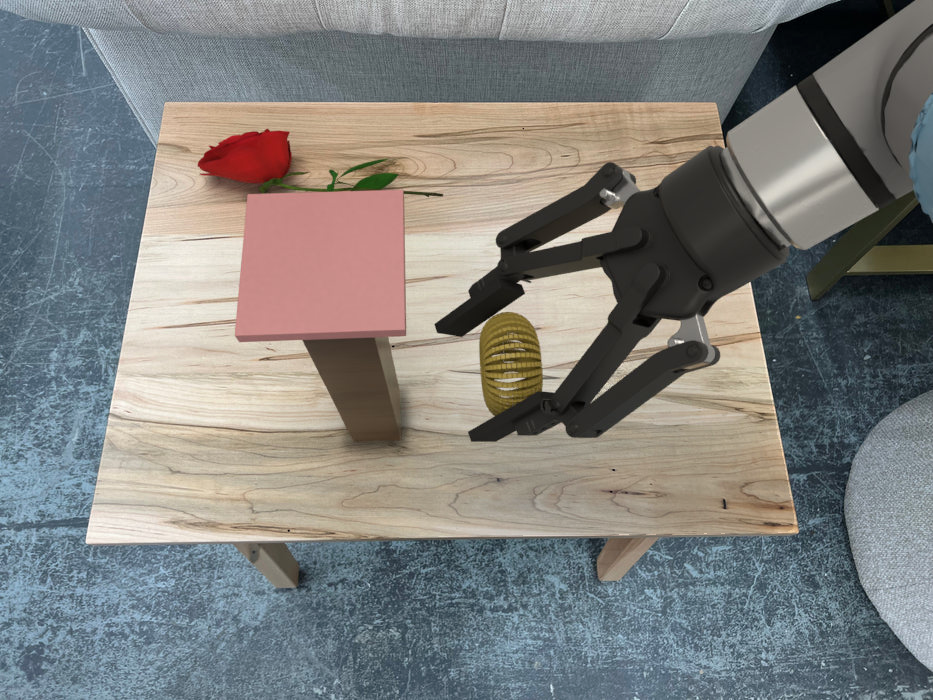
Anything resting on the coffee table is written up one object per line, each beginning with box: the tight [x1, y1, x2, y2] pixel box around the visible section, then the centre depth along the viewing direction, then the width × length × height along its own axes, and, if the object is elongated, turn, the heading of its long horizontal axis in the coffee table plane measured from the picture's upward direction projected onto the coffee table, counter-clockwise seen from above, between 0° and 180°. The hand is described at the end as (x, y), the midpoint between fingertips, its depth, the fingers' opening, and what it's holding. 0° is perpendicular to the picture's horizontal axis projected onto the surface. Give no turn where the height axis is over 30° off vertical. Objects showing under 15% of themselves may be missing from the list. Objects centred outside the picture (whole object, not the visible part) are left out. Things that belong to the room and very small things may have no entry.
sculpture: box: [478, 311, 544, 417], centre depth 49 cm, size 8×4×8 cm, turn 5°
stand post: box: [301, 337, 402, 443], centre depth 58 cm, size 5×5×32 cm
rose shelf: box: [234, 189, 407, 343], centre depth 43 cm, size 10×10×1 cm
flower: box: [197, 128, 444, 198], centre depth 80 cm, size 9×10×30 cm
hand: (464, 381), depth 49 cm, fingers closed on sculpture, 8 cm apart
